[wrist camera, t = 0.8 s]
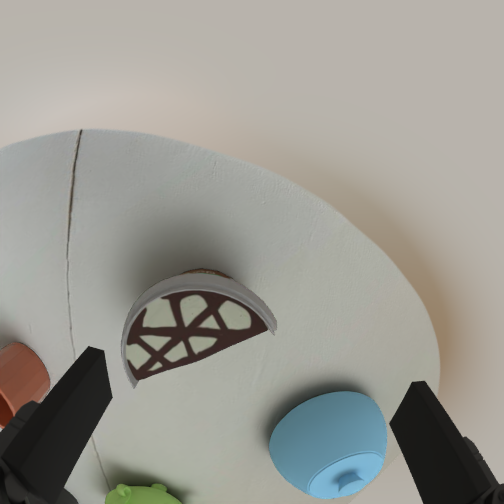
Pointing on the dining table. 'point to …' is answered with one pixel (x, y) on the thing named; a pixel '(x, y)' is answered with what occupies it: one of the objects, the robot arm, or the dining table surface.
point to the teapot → (140, 495)
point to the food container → (189, 322)
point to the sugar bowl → (330, 444)
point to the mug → (20, 380)
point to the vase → (65, 500)
